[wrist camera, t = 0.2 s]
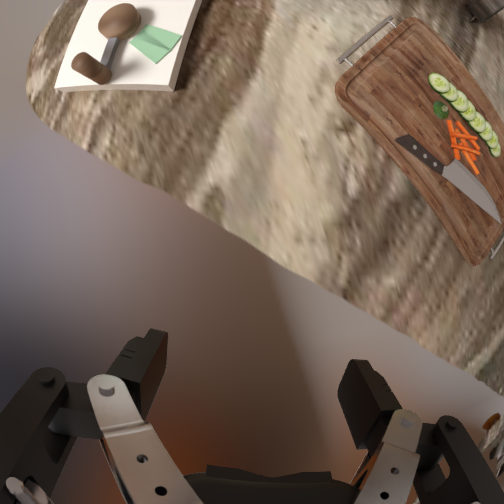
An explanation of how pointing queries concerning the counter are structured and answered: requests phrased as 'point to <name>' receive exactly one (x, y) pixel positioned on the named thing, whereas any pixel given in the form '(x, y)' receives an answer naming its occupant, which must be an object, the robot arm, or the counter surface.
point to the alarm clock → (485, 9)
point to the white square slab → (133, 46)
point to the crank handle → (108, 42)
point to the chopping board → (432, 129)
